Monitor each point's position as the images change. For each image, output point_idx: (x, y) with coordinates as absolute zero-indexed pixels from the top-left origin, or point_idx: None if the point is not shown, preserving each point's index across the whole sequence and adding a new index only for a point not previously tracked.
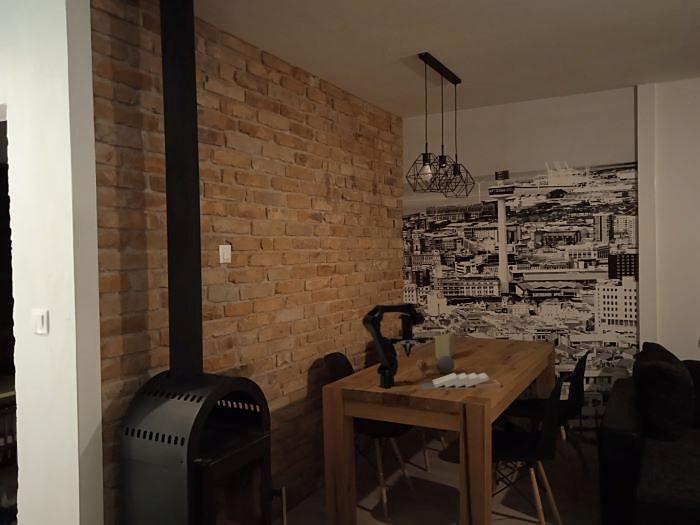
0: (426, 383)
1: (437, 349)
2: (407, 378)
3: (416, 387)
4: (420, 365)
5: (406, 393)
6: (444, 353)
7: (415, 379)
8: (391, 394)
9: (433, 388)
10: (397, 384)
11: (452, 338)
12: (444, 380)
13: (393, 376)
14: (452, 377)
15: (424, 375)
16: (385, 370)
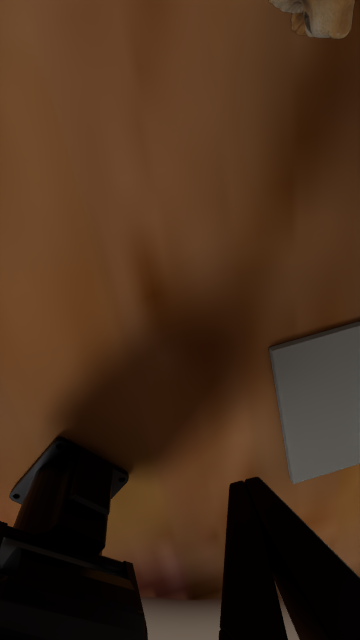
0: (318, 363)
1: None
2: (150, 183)
3: (254, 439)
4: (329, 35)
5: (214, 555)
6: None
7: (225, 209)
8: (145, 590)
9: (354, 462)
10: (120, 404)
11: None
12: None
13: (106, 529)
14: None
15: (303, 30)
16: (2, 540)
